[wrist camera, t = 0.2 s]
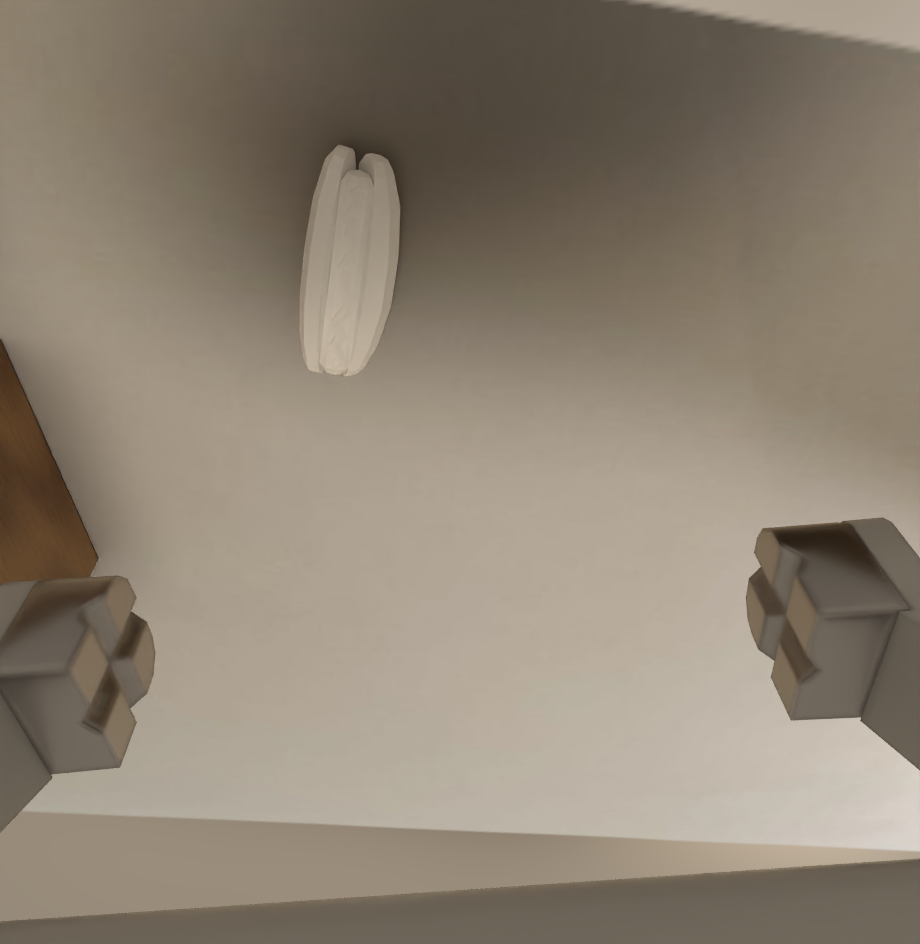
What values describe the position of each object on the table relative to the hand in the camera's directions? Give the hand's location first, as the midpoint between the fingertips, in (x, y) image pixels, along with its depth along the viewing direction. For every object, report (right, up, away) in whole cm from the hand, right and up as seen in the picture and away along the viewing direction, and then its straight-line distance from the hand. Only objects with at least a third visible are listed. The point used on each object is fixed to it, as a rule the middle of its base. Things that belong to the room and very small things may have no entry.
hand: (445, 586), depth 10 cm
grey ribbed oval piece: (-4, +9, +18) cm, 20 cm away
